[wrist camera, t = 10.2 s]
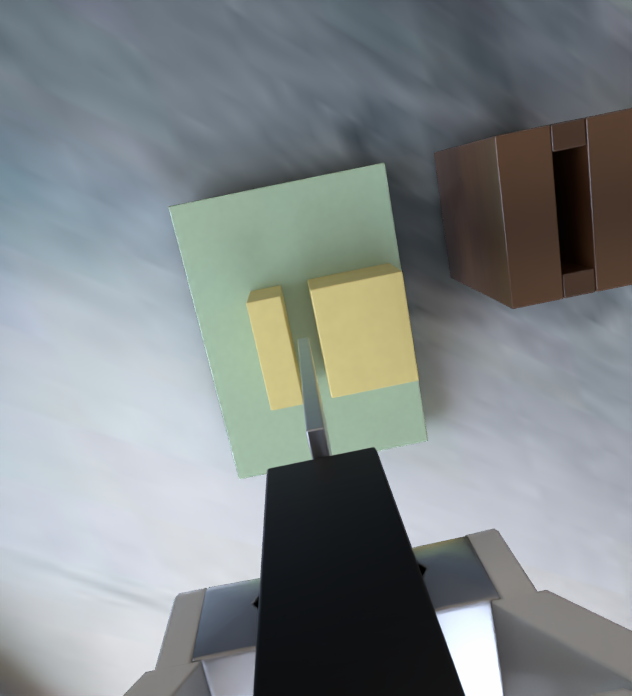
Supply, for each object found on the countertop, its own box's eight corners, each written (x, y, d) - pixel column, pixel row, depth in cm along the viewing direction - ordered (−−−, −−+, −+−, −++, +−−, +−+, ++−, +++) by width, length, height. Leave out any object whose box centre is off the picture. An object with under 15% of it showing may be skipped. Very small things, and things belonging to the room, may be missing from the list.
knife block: (433, 152, 27) (494, 135, 19) (538, 131, 27) (641, 105, 19) (450, 277, 28) (512, 309, 20) (548, 257, 28) (648, 281, 20)
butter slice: (249, 291, 27) (245, 302, 24) (281, 284, 27) (280, 295, 24) (272, 388, 28) (271, 411, 25) (302, 382, 28) (304, 404, 25)
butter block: (307, 279, 27) (309, 289, 24) (389, 262, 27) (402, 270, 24) (326, 377, 28) (331, 398, 25) (405, 361, 28) (419, 381, 25)
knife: (269, 344, 20) (229, 751, 5) (336, 330, 20) (479, 700, 5) (289, 435, 21) (302, 993, 6) (354, 422, 21) (516, 949, 6)
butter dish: (172, 206, 27) (168, 206, 26) (381, 163, 27) (385, 162, 26) (240, 470, 30) (239, 479, 29) (423, 433, 30) (428, 441, 29)
